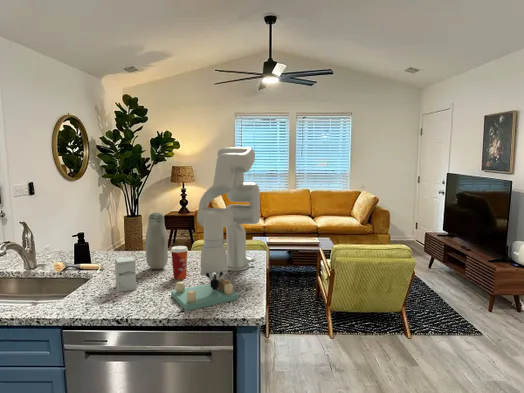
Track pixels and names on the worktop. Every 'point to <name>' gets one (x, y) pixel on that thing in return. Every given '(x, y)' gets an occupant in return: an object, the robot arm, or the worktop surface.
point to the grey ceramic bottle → (156, 242)
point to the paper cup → (179, 261)
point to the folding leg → (221, 283)
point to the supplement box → (125, 274)
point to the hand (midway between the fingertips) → (214, 288)
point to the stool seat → (202, 295)
